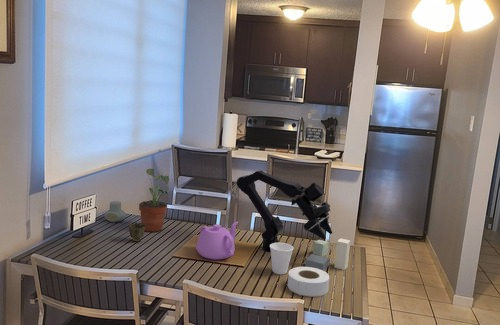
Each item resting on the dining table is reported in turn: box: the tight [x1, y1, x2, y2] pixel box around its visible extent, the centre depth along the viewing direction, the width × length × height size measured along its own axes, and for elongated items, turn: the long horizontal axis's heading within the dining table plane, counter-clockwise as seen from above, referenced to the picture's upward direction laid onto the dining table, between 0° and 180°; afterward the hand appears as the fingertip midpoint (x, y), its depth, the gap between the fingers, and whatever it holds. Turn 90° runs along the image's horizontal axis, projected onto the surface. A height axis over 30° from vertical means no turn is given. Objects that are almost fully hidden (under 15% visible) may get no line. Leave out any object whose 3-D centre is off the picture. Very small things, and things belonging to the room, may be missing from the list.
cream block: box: [333, 238, 351, 271], centre depth 194 cm, size 4×5×12 cm
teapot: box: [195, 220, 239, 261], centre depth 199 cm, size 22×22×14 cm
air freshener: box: [104, 200, 127, 223], centre depth 237 cm, size 11×8×10 cm
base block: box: [304, 253, 330, 271], centre depth 193 cm, size 8×8×4 cm
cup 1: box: [128, 222, 145, 243], centre depth 208 cm, size 8×7×8 cm
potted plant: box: [138, 168, 170, 233], centre depth 225 cm, size 16×15×35 cm
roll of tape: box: [287, 266, 330, 298], centre depth 171 cm, size 16×16×6 cm
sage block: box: [312, 239, 329, 257], centre depth 208 cm, size 5×5×6 cm
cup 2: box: [270, 242, 295, 275], centre depth 184 cm, size 10×10×11 cm
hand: (328, 236), depth 196 cm, fingers open, 9 cm apart
